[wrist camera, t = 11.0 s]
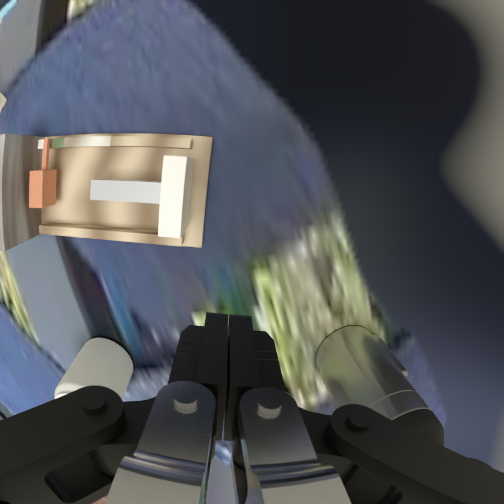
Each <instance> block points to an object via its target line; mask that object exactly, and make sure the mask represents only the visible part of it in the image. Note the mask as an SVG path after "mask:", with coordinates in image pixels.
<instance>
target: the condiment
mask: <svg viewBox="0 0 504 504" xmlns="http://www.w3.org/2000/svg"><path fill="white" fill-rule="evenodd" d="M6 101H7V99H6V98H5V97H4V95H2V93H1V92H0V112H1V110H2V108H3V107H4V105H5V103H6Z"/></svg>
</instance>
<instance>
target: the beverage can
mask: <svg viewBox="0 0 504 504" xmlns="http://www.w3.org/2000/svg"><path fill="white" fill-rule="evenodd" d="M132 373H133V363H132V360H131V358H130V356H129V355H128V353H127V352H126V351H125V350H124V349H123V348H122V347H121V346H120V345H118V344H117V343H115V342H113V341H111V340H109V339H105V338H93V339H90V340H88V341H87V342H86V343H85V344H84V346H83V347H82V349H81V350H80V352H79V353H78V355H77V356H76V358H75V359H74V361H73V362H72V364H71V365H70V367H69V368H68V370H67V371H66V373H65V375H64V376H63V378H62V379H61V381H60V383H59V384H58V386H57V388H56V390H55V399H56V398H59V397H61V396H63V395H66V394H68V393H70V392H73V391H75V390H77V389H80V388H82V387H86V386H92V385H98V386H104V387H107V388H110V389H112V390H113V391H115V392H116V393H117V394H118V395H119V396H120V397H121V399H122V400H123V397H124V395H125V392H126V389H127V386H128V384H129V381H130V378H131V376H132Z"/></svg>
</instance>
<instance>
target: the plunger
mask: <svg viewBox="0 0 504 504" xmlns="http://www.w3.org/2000/svg"><path fill="white" fill-rule="evenodd" d="M193 168H194V159H193V158H190V157H183V156H166V155H164V158H163V168H162V179H161V181H145V180H123V179H93V180H91V188H90V200H105V201H123V202H139V203H154V204H160V206H159V223H158V236H160V237H171V238H181V236H182V234H183V233H184V231H185V230H186V228H187V226H188V224H189V211H190V199H191V188H192V178H193Z"/></svg>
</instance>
